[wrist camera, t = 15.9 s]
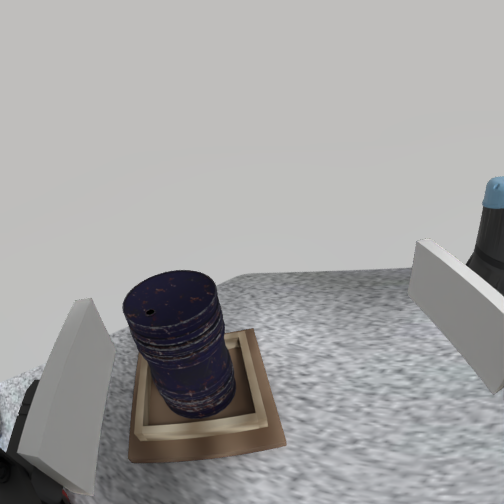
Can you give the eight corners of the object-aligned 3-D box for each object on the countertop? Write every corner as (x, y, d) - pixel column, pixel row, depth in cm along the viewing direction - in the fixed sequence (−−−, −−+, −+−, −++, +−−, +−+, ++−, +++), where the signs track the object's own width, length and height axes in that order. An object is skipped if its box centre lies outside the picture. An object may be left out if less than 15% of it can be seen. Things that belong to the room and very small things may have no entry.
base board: (254, 333, 46) (252, 318, 44) (286, 445, 28) (286, 433, 27) (142, 350, 44) (136, 335, 42) (132, 462, 26) (120, 451, 25)
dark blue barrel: (188, 353, 41) (161, 264, 34) (250, 372, 37) (235, 277, 30) (148, 401, 33) (102, 312, 27) (213, 431, 29) (178, 341, 23)
